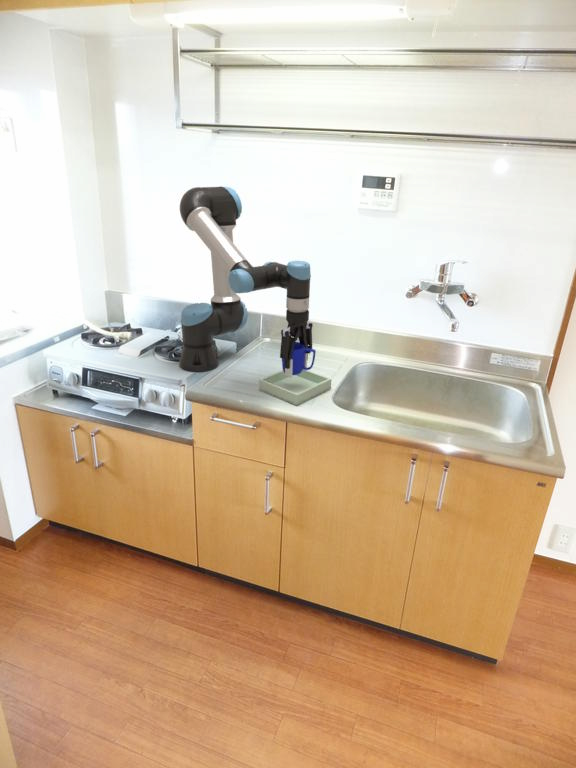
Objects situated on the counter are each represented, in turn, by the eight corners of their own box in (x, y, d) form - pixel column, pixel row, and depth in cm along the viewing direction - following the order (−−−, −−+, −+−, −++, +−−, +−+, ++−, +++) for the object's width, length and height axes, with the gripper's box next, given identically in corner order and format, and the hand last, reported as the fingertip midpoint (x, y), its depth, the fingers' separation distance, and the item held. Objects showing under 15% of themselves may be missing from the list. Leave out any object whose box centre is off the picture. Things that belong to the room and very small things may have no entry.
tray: (258, 390, 178) (259, 379, 176) (293, 375, 190) (294, 365, 189) (296, 406, 167) (297, 395, 166) (330, 389, 180) (331, 378, 178)
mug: (312, 379, 172) (313, 352, 168) (278, 375, 174) (278, 348, 170) (316, 369, 179) (317, 343, 175) (284, 366, 182) (283, 340, 177)
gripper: (286, 317, 158) (284, 384, 167) (325, 305, 171) (322, 368, 181) (268, 313, 162) (268, 378, 172) (308, 301, 176) (306, 362, 185)
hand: (295, 373), depth 176 cm, fingers closed on mug, 7 cm apart
